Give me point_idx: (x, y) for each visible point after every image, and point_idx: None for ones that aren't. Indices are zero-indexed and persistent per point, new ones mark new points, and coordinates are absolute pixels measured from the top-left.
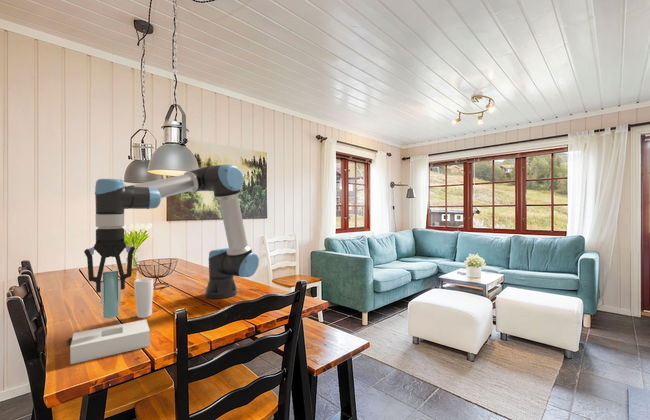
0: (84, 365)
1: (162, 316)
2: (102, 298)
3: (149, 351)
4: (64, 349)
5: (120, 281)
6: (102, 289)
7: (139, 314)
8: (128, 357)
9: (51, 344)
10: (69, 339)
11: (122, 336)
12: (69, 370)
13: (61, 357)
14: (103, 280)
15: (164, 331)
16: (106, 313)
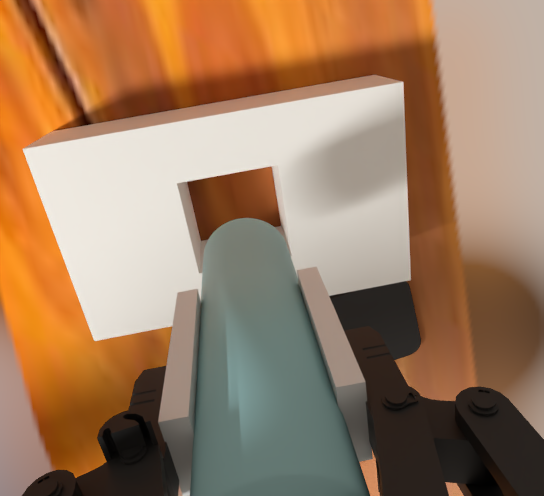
0: (316, 32)
1: (80, 473)
2: (312, 287)
3: (38, 60)
4: (419, 254)
5: (161, 413)
6: (328, 335)
7: (179, 493)
8: (131, 30)
9: (469, 323)
10: (415, 336)
11: (166, 122)
12: (368, 4)
13: (418, 173)
14: (344, 422)
15: (23, 294)
16: (269, 234)
